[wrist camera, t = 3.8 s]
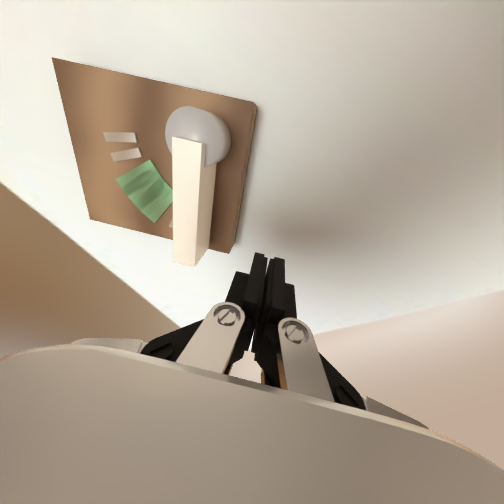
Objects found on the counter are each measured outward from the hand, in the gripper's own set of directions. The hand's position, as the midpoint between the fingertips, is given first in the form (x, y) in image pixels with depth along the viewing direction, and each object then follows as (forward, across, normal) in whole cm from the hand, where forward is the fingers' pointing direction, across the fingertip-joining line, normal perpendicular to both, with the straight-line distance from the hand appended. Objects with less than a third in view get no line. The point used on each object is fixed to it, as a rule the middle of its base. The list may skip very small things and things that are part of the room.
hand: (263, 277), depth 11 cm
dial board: (+8, +10, -3) cm, 13 cm away
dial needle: (+6, +6, -3) cm, 8 cm away
